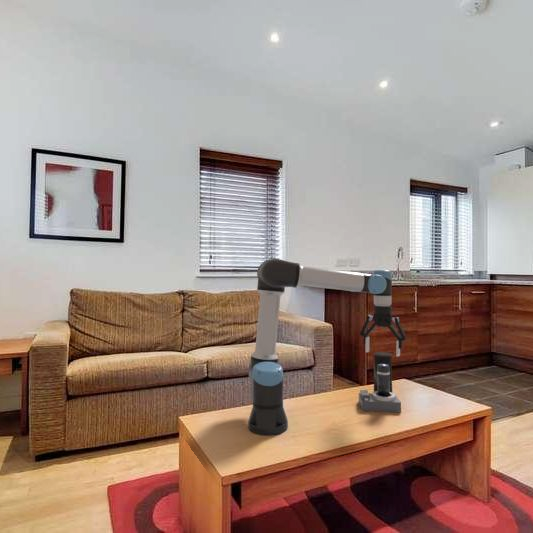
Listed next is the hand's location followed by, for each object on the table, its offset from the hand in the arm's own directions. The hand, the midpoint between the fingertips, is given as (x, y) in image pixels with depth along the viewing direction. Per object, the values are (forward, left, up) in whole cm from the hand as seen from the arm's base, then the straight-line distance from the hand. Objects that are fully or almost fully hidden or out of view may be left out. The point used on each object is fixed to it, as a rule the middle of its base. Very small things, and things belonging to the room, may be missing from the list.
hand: (382, 354), depth 164 cm
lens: (0, 0, -19) cm, 19 cm away
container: (+3, +17, -23) cm, 29 cm away
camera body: (-2, 0, -23) cm, 23 cm away
